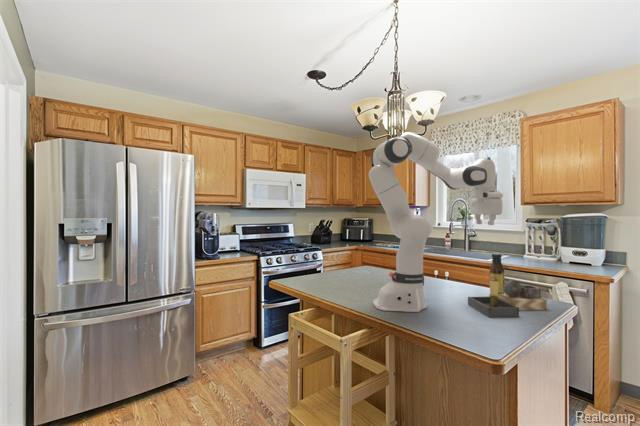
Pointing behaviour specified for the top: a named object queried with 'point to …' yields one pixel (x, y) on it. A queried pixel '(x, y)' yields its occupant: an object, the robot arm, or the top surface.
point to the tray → (484, 307)
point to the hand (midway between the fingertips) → (484, 224)
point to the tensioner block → (523, 296)
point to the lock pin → (494, 293)
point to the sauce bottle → (497, 271)
